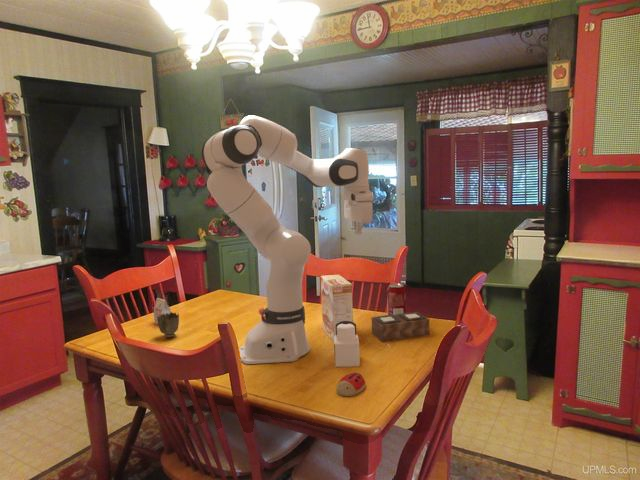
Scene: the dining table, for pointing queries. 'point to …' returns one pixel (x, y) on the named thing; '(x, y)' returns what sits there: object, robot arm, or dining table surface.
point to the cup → (168, 324)
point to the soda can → (396, 299)
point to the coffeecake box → (335, 302)
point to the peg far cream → (412, 315)
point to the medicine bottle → (346, 345)
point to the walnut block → (400, 327)
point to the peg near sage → (387, 319)
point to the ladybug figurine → (351, 384)
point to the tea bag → (160, 308)
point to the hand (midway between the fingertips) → (357, 233)
